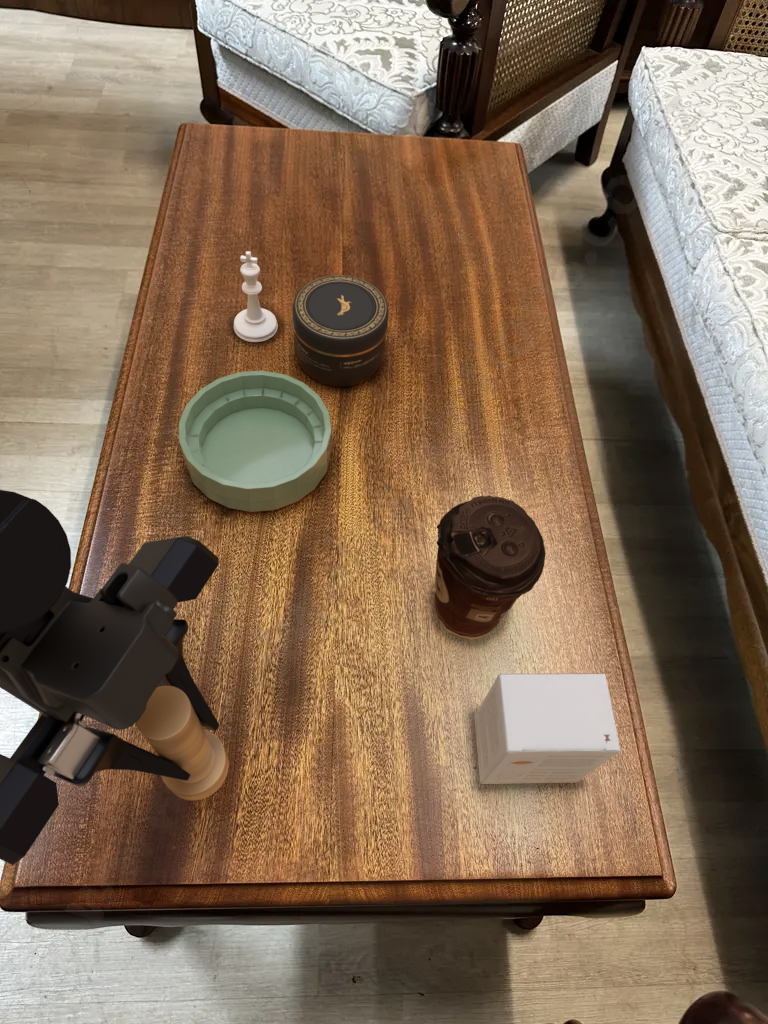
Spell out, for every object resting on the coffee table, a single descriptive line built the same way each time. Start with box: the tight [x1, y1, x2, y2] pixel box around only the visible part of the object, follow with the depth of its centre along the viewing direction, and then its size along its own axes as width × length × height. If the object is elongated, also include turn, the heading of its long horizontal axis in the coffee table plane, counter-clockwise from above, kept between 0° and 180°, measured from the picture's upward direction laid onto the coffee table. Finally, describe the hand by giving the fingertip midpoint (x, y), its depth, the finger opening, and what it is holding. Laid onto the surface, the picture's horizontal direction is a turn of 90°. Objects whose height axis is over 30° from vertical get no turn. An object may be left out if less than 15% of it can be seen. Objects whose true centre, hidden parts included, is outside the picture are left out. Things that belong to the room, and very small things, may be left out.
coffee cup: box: [433, 495, 546, 640], centre depth 59 cm, size 9×8×13 cm
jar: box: [291, 274, 389, 388], centre depth 77 cm, size 10×10×8 cm
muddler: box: [135, 686, 230, 801], centre depth 45 cm, size 4×4×13 cm
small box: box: [473, 672, 621, 785], centre depth 54 cm, size 8×6×10 cm
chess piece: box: [233, 250, 279, 343], centre depth 77 cm, size 5×5×10 cm
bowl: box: [178, 370, 332, 513], centre depth 70 cm, size 14×14×4 cm
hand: (200, 752), depth 45 cm, fingers closed on muddler, 3 cm apart
